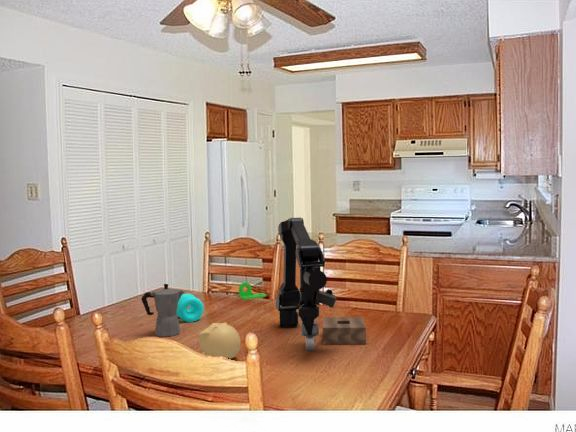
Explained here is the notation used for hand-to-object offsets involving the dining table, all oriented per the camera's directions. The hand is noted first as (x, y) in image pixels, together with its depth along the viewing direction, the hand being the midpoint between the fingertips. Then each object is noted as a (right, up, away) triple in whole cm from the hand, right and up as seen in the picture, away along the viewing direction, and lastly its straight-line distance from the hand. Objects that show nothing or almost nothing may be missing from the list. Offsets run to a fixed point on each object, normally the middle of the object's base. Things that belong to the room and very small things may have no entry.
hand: (310, 332), depth 175 cm
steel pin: (0, -6, 0) cm, 6 cm away
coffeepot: (-51, -6, +23) cm, 57 cm away
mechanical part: (-23, -2, +80) cm, 83 cm away
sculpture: (-28, -7, -6) cm, 29 cm away
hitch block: (+12, -5, +12) cm, 18 cm away
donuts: (-46, -4, +43) cm, 63 cm away
